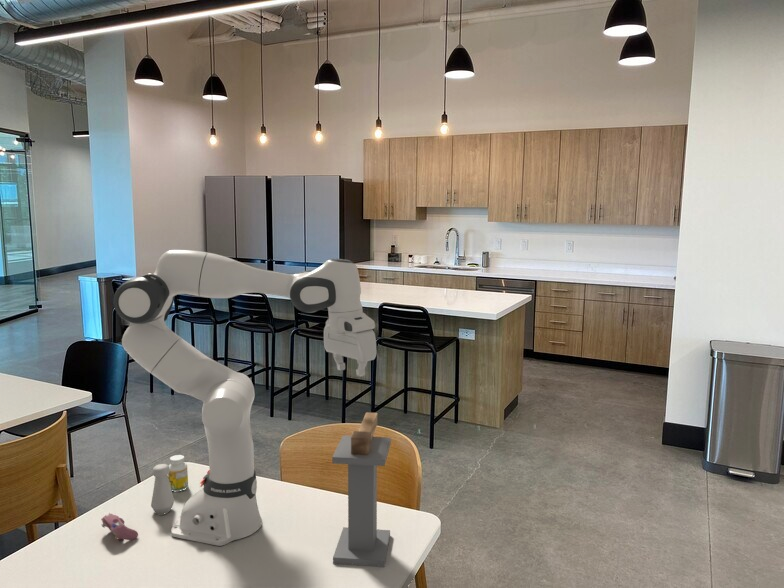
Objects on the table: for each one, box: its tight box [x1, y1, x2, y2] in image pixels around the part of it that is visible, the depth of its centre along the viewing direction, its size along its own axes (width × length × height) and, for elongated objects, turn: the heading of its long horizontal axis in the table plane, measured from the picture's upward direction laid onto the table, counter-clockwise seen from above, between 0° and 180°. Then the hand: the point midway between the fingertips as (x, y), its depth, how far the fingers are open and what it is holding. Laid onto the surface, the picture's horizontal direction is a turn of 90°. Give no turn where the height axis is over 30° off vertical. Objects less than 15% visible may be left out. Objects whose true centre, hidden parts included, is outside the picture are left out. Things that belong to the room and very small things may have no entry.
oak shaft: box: [351, 412, 378, 455], centre depth 139 cm, size 4×20×4 cm, turn 174°
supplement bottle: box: [168, 454, 189, 491], centre depth 167 cm, size 5×5×10 cm
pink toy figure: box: [101, 512, 139, 541], centre depth 142 cm, size 10×5×7 cm, turn 47°
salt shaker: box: [150, 463, 175, 515], centre depth 154 cm, size 6×6×13 cm
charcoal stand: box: [331, 435, 392, 568], centre depth 136 cm, size 12×13×26 cm
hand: (350, 372), depth 148 cm, fingers open, 8 cm apart
